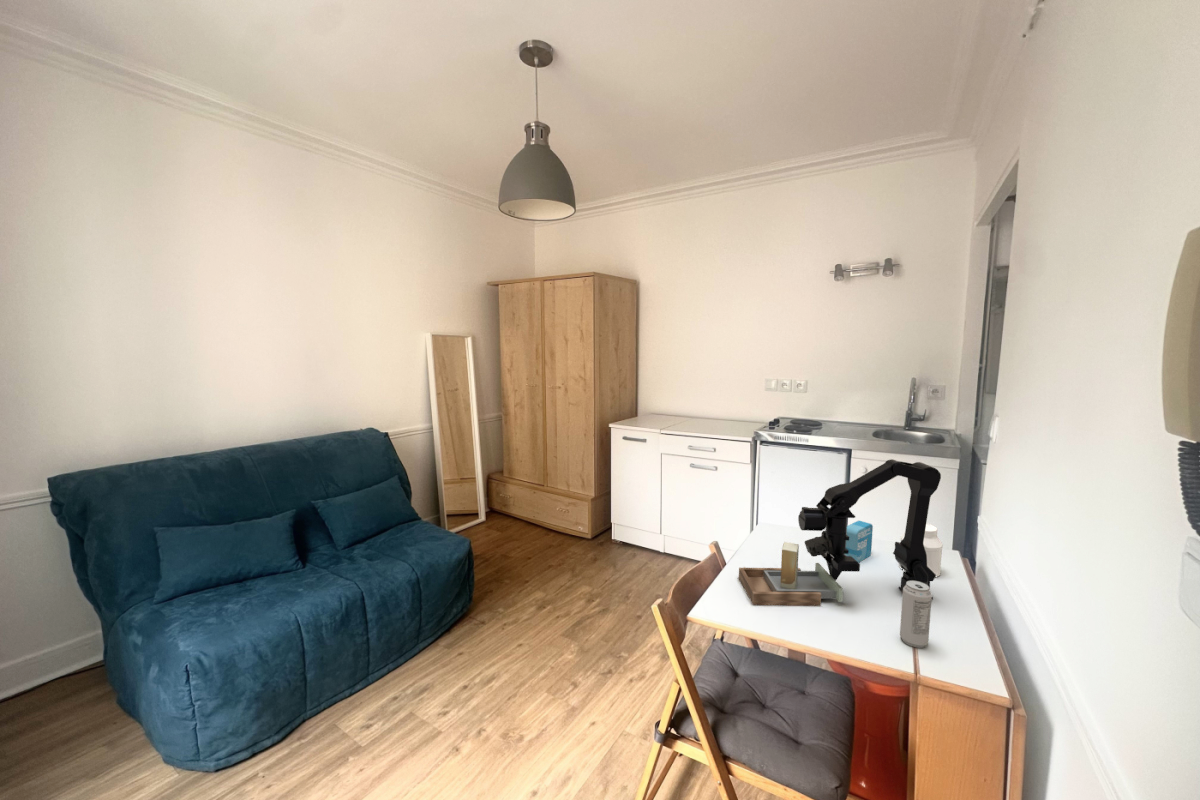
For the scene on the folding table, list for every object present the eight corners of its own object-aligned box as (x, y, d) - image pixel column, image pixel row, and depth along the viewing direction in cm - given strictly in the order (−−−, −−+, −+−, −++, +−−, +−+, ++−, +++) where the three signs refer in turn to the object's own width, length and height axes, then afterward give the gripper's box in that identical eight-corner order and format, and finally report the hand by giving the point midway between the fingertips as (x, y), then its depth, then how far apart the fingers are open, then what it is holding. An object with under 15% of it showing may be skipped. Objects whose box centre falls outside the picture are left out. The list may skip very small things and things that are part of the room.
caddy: (799, 578, 155) (799, 568, 155) (820, 605, 139) (821, 594, 139) (738, 578, 156) (739, 567, 155) (753, 605, 139) (753, 593, 139)
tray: (818, 574, 155) (818, 562, 154) (842, 601, 139) (842, 588, 138) (761, 574, 155) (762, 562, 155) (778, 601, 139) (779, 587, 139)
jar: (945, 572, 159) (948, 528, 157) (933, 580, 153) (936, 535, 152) (906, 560, 168) (909, 518, 166) (893, 567, 163) (896, 524, 161)
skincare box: (782, 578, 151) (784, 541, 149) (797, 581, 149) (799, 543, 147) (779, 587, 145) (781, 548, 144) (795, 591, 143) (797, 551, 142)
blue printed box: (855, 564, 165) (857, 531, 163) (842, 560, 168) (843, 527, 167) (871, 555, 172) (873, 523, 171) (858, 551, 176) (860, 519, 174)
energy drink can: (917, 634, 125) (921, 579, 123) (933, 648, 119) (938, 590, 117) (894, 635, 125) (897, 579, 123) (910, 649, 119) (914, 591, 117)
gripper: (797, 519, 154) (795, 566, 156) (822, 543, 136) (819, 595, 137) (832, 519, 154) (830, 566, 156) (862, 543, 135) (859, 596, 137)
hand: (833, 580), depth 146 cm, fingers closed, pressing on tray
